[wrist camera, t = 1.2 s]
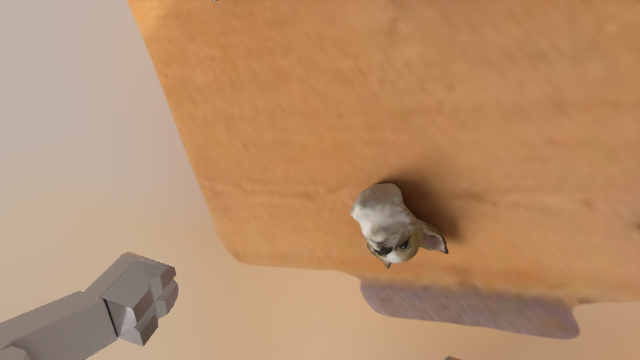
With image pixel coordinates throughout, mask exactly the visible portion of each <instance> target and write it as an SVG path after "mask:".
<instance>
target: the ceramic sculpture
mask: <svg viewBox="0 0 640 360" xmlns="http://www.w3.org/2000/svg"><path fill="white" fill-rule="evenodd" d="M350 213H351V215H352V216H353V217H354V219H356V220H357V221H358V222H359V223H360V226H361V229H362V232H363V234H364V237H365V239H366V241H367V248H368V250H370V253H371V254H373V255H375V256H376V257H377V258H379V259H381V260H382V261H383V263H384V264H385V266H386V267H387V268H390V265H391V263H400V262H404V261H407V260H409V259H411V258H413V257H414V256H415V255H416V253H417V251H418V249H419V246H421V247H423V248H425V249H427V250H438V251H441V252H444V253H446V254H449V253H448V250H447V247H446V242H445V239H444V237H443V235H442V233H441V232H440V231H439V230H438V229H437V228H436V227H435V226H433V225H431V224H429V223H427V222H425V221H422V220H420V219H417V218H415V217H414V215H413V214H412V213H411V212H410V211H409V210H408V208H407V207H406V206H405V205H404V203H403V198H402V194H401V190H400V189H399V188H398V187H397V186H396V185H395V184H393V183H386V184H374V185H372V186H370V187H369V188H367V189H366V190H365V191H362V192H361V193H360V194H359V196H358V198H357V199H356V200H355V201H354V203H353V206H352V209H351V211H350Z"/></svg>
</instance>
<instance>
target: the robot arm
mask: <svg viewBox="0 0 640 360" xmlns="http://www.w3.org/2000/svg"><path fill="white" fill-rule="evenodd" d="M175 275H176V272H175V268H174V267H172V266H169V265H166V264H163V263H160V262H157V261H154V260H151V259H149V258H146V257H143V256H140V255H137V254H134V253H131V252H127V253H125V254H123V255H121V256H120V257H119V258H118V259H117V260H116V261H115V262H114V263H113V264H112V265H111V266H110V267H109V268H108V269H107V270H106V271H105V272H104V273H103V274H102V275H100V276H99V277H98V278H97V279H96V280H95V281H94V282H93V283H92V284H91V285H90V286H89V287H88V288H87V289H86V290H85V291H84V292H81V291H77V292H75V293H72V294H70V295H68V296H65V297H63V298H60V299H58V300H55V301H53V302H51V303H48V304H46V305H43V306H41V307H39V308H36V309H34V310H31V311H29V312H26V313H24V314H21V315H19V316H17V317H15V318H12V319H9V320H7V321H5V322H2V323H0V360H85V359H87V358H88V357H90V356H92V355H93V354H95V353H97V352H98V351H100V350H101V349H103V348H105V347H106V346H108V345H110V344H111V343H113V342H114V341H116V340H117V338H120V339H123V340H126V341H129V342H132V343H135V344H138V345H141V346H144V345H145V344H146V342H147V341H148V340H149V338H150V337H151V336H152V334H153V333H154V332H155V330H156V329H157V328H158V319H159V318H161V317H163V316H165V315H167V314H168V313H169V311H170V310H171V308H172V307H173V306H174V303H175V301H176V299H177V296H178V284H177V283H176V282H175V280H174V279H173V278H174V277H175ZM445 360H460V359H457V358H454V357H451V356H448V357H446V358H445Z"/></svg>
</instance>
